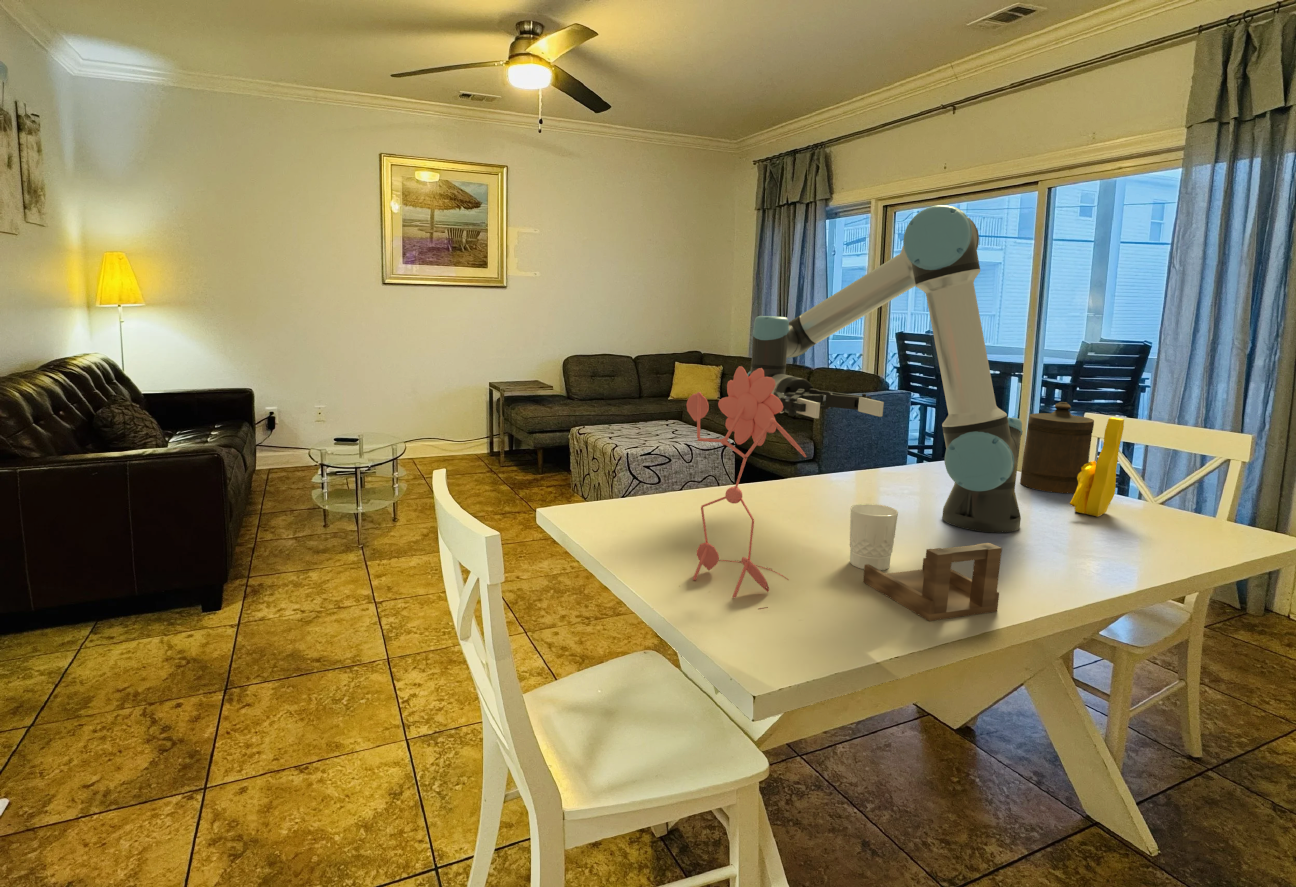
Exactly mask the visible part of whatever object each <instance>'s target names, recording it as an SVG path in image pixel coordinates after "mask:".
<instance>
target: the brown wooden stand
mask: <svg viewBox="0 0 1296 887" xmlns="http://www.w3.org/2000/svg"><path fill="white" fill-rule="evenodd" d="M1002 551H1003V548H1002V547H1000V546H998V545H995V544H993V543H991V542H984V543H975V544H971V545H963V546H961V545H960V546H952V547H943V548H941V547H937V548H929V549H928V548H927V549H926V552H925V557H923V560H922V567H921V568H922V569H915V570H914V569H913V570H907V571H896V572H888V573H887V572H884V571H883V570H878V569H877V568H875V567H873V566H871V565H869V564H866V565H865V566H864V569H863V582H862V583H864V584H866V585H868V586H869V587H870V588H872V589H874V590H876V591H877V592H879V593H881V594H883V595H884V596H886V597H887V598H890V600H893V601H895V602H896V603H898V604H899V605H901V606H903V607H904V608H906V609H907V610H910V611H911V612H913V613H914V614H916V615H918V617H919V616H920V617H921V618H923V619H925V620H926V621H928V622H932V621H940V620H946V619H953V618H954V619H955V618H960V617H966V616H967V617H968V616H974V615H981V614H987V613H994V612H998V606H999V600H1000V591H998V584H999V576H1000V569H1001V568H1000V567H1001V559H1002ZM969 561H973V567H972V578H970V577H969V576H966V575H964V574H962V573H961V572H960V573H959V572H958V571H955V570H954V569H952V564H953V563H960V562H969Z"/></svg>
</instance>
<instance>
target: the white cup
mask: <svg viewBox="0 0 1296 887" xmlns="http://www.w3.org/2000/svg"><path fill="white" fill-rule="evenodd" d="M849 515H850V522H849V523H850V524H849V547H850V549H849V551H850V552H849V563H850V564H851V565H852V566H853V567H855V568H858V569H861V570H864V566H865V565H866V564H869V565H871V566H873V567H875V568H877V569H878V570H880V571H886V570H888V569H889V568H890V564H891V557H892V553H893V549H894V548H893V547H894V542H895V537H896V530H897V521H898V516H899V510H897V509H895V508H893V507H890V506H887V505H883V504H877V503H858V504H854V505H852V506H850V514H849Z"/></svg>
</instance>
